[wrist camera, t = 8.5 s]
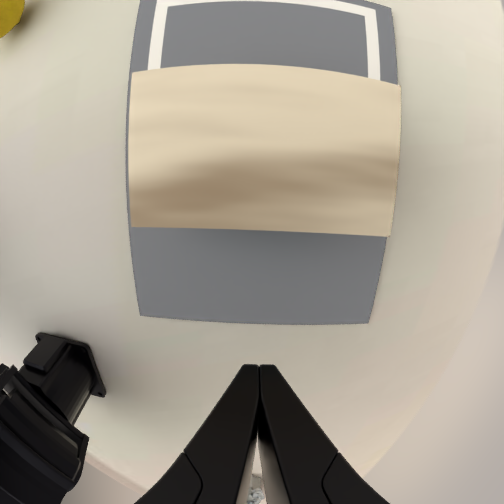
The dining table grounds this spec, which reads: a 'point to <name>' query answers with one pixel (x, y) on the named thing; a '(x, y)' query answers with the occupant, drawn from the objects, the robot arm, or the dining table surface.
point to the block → (263, 149)
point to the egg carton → (254, 491)
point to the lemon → (10, 14)
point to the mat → (259, 241)
